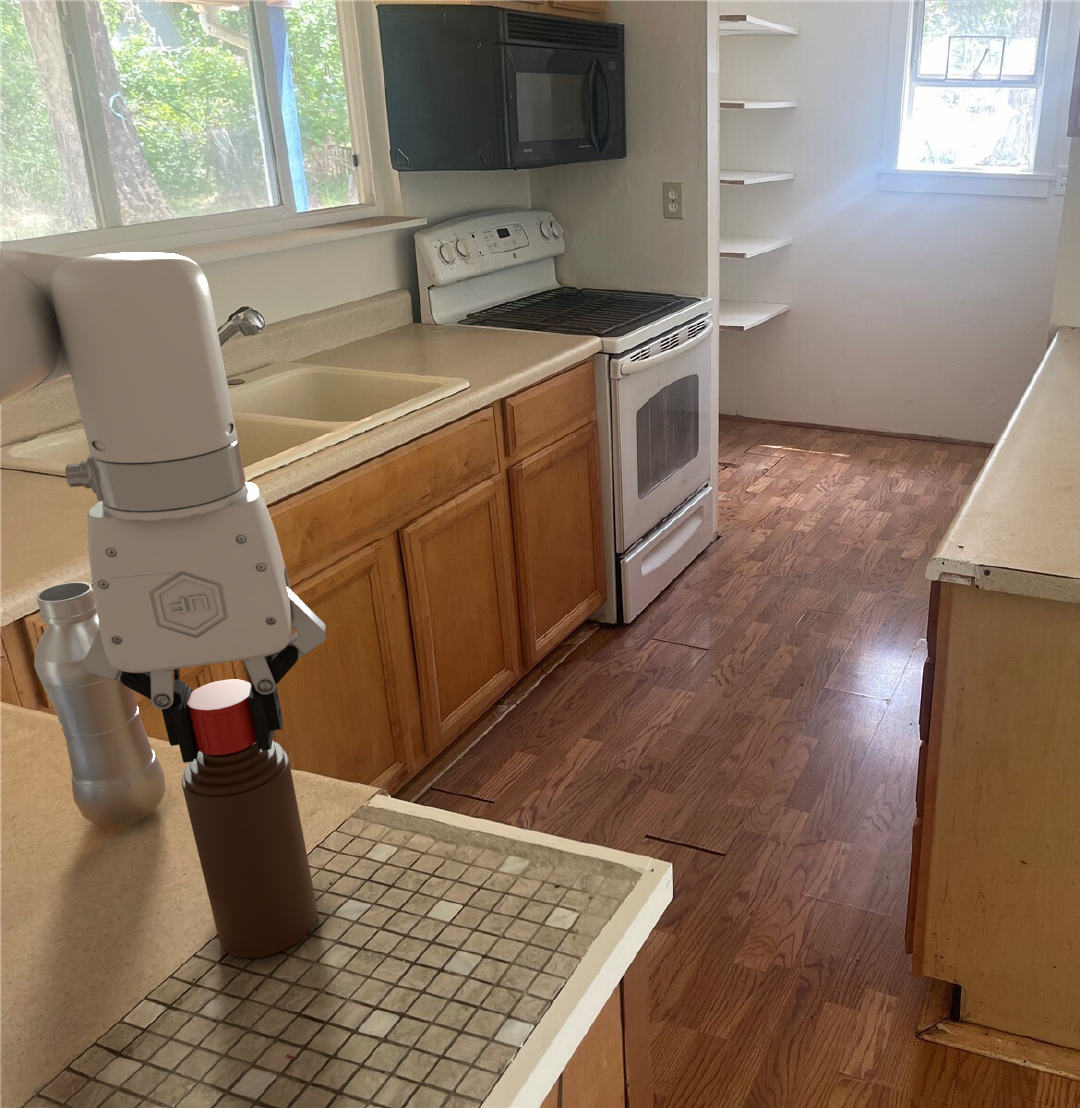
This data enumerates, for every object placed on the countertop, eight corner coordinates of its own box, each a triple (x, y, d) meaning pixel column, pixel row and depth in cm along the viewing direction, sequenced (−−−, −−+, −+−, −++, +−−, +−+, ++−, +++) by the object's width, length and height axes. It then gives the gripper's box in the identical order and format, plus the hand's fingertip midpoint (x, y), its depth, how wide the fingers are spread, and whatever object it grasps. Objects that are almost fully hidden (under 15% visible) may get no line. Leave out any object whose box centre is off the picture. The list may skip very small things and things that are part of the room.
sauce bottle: (266, 970, 69) (215, 739, 62) (198, 940, 71) (141, 715, 64) (337, 908, 74) (298, 690, 67) (271, 883, 77) (226, 670, 70)
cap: (276, 729, 68) (267, 685, 67) (229, 761, 65) (219, 715, 63) (229, 717, 69) (220, 674, 68) (181, 748, 66) (170, 703, 65)
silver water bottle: (141, 780, 89) (82, 567, 82) (189, 804, 86) (132, 585, 78) (64, 820, 84) (-6, 597, 77) (112, 847, 81) (43, 618, 73)
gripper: (-15, 511, 54) (70, 802, 61) (322, 481, 59) (365, 754, 66) (27, 469, 61) (99, 736, 68) (327, 445, 66) (366, 697, 73)
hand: (230, 742), depth 67 cm, fingers closed on cap, 3 cm apart
